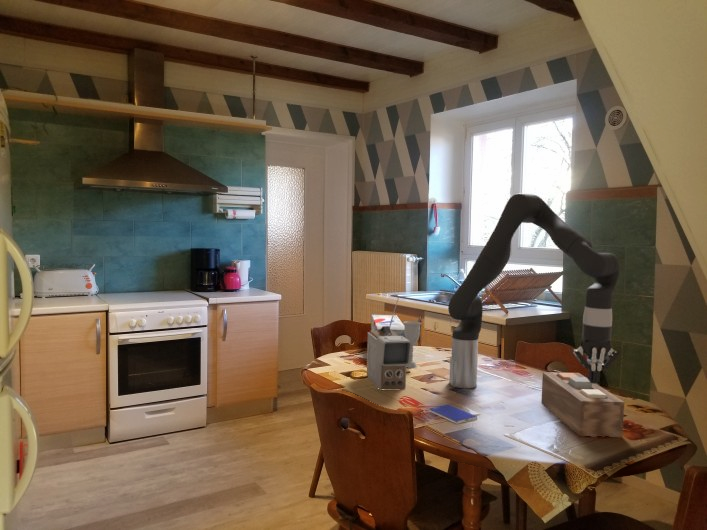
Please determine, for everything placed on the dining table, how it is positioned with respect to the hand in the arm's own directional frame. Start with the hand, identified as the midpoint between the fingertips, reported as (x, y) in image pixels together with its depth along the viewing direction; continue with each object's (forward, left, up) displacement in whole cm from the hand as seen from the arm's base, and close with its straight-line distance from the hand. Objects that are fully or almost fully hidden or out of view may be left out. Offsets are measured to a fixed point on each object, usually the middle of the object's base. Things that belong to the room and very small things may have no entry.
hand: (593, 382), depth 160 cm
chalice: (-44, +67, -14) cm, 81 cm away
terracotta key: (0, +18, -7) cm, 19 cm away
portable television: (-55, +43, -14) cm, 71 cm away
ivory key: (0, 0, -7) cm, 7 cm away
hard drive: (-38, +10, -14) cm, 42 cm away
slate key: (0, +9, -6) cm, 11 cm away
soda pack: (-51, +96, -14) cm, 109 cm away
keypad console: (0, +9, -14) cm, 16 cm away
